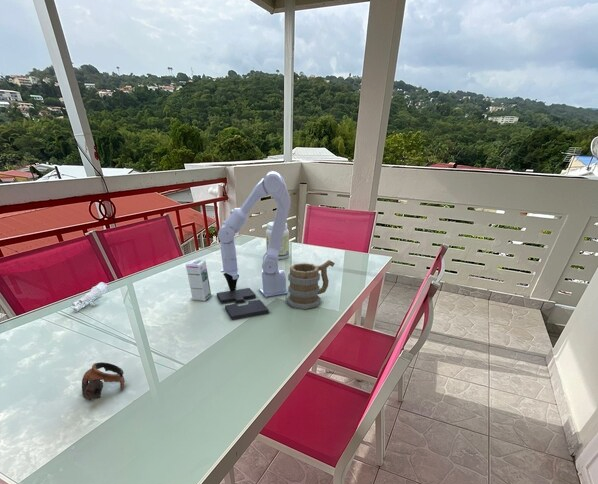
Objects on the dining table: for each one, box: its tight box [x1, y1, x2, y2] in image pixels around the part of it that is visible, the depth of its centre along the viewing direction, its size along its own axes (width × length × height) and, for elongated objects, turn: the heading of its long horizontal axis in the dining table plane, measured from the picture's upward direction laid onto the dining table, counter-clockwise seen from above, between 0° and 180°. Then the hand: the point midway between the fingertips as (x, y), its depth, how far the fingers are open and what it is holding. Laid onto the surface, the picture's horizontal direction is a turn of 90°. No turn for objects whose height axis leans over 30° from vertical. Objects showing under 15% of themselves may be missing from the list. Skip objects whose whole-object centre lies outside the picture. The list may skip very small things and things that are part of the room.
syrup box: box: [185, 259, 212, 302], centre depth 130 cm, size 6×6×14 cm
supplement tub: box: [265, 221, 290, 260], centre depth 175 cm, size 12×12×17 cm
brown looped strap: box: [81, 361, 126, 401], centre depth 83 cm, size 12×10×8 cm
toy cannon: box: [71, 281, 110, 313], centre depth 126 cm, size 8×14×5 cm
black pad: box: [216, 287, 257, 305], centre depth 134 cm, size 14×10×2 cm
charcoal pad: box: [224, 299, 269, 321], centre depth 124 cm, size 14×10×2 cm
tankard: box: [286, 259, 335, 310], centre depth 129 cm, size 20×13×15 cm, turn 117°
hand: (232, 290), depth 138 cm, fingers closed
